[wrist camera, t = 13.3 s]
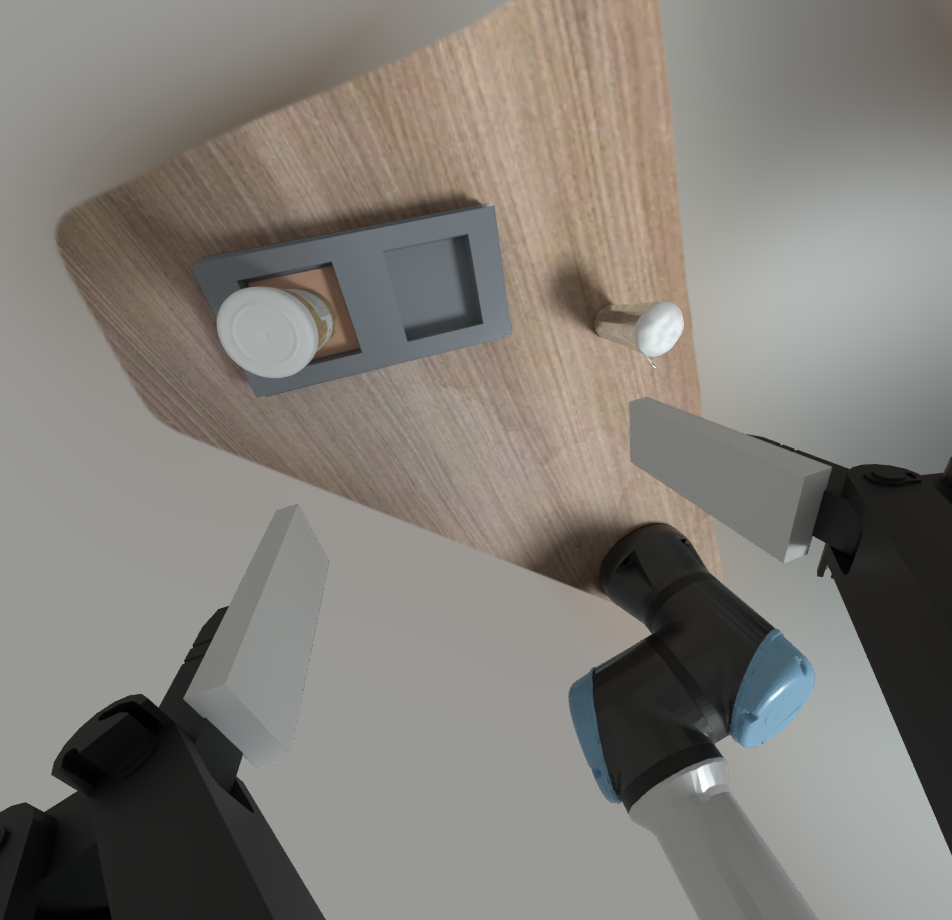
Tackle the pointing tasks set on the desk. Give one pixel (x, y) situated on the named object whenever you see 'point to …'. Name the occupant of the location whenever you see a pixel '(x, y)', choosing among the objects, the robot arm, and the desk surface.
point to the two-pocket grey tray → (380, 290)
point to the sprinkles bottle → (275, 329)
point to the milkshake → (641, 326)
